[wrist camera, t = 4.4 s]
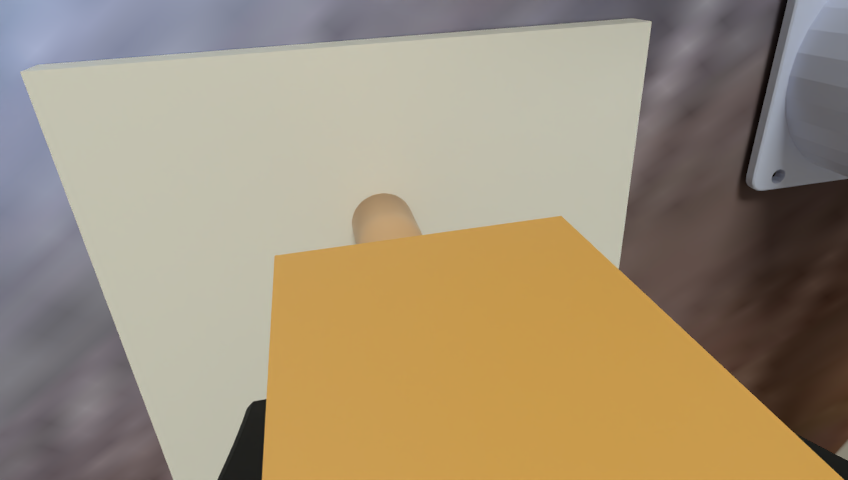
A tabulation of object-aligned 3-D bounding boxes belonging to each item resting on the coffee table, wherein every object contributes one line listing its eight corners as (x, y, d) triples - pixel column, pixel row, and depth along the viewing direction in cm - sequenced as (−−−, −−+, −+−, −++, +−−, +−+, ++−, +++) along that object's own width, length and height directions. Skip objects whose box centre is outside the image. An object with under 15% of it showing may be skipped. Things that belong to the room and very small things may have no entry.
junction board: (632, 18, 16) (864, 55, 10) (581, 452, 24) (687, 631, 18) (37, 64, 13) (-202, 160, 7) (206, 534, 22) (170, 779, 15)
